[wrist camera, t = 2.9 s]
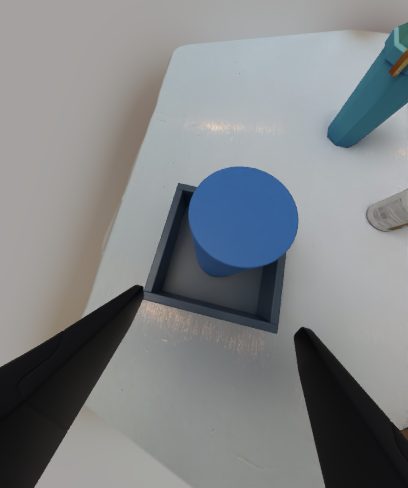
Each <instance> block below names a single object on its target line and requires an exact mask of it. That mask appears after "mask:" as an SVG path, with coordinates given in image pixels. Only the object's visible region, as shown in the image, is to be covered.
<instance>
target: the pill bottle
mask: <svg viewBox="0 0 408 488" xmlns="http://www.w3.org/2000/svg"><path fill="white" fill-rule="evenodd" d="M367 217H368V220H369V222H370V223H371V224H372V225H373V226H374V227H376V228H377V229H379V230H382V231H392V230H395V229H399V228H403V227H407V226H408V189H406V190H404V191H402V192H400V193H398V194H395V195H393V196H391V197H389V198H386V199H384V200H382V201H380V202H378V203H376V204H373V205H372V206H371V207H370V208H369V209H368V212H367Z"/></svg>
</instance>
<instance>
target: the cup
mask: <svg viewBox="0 0 408 488" xmlns="http://www.w3.org/2000/svg"><path fill="white" fill-rule="evenodd" d="M407 103H408V23H406V24H403V25H401V26H398V27H396V28H394V30H393V31H392V33H391V34H390V36H389V37H388V39H387V40H386V42H385V47H384V49H383V50H382V51H381V53H380V54H379V56H378V57H377V59H376V60H375V61H374V63H373V64H372V66H371V67H370V69H369V70H368V71H367V73H366V74H365V76H364V77H363V79H362V80H361V82H360V83H359V84H358V86H357V87H356V89H355V90H354V92H353V93H352V94H351V96H350V97H349V99H348V100H347V102H346V103H345V104H344V106H343V107H342V109H341V110H340V112H339V113H338V115H337V116H336V117H335V119H334V120H333V122H332V123H331V125H330V126H329V127H328V135H327V137H328V138H329V139H330V140H331V141H332V142H333V143H334V144H335V145H337V146H342V147H346V148H348V147H350V146H352V145H354V144H356V143H357V142H359V141H360V140H361V139H362V138H364V137H365V136H366V135H368V134H369V133H370V132H371V131H373V130H374V129H375V128H376V127H378V126H379V125H380V124H381V123H383V122H384V121H385V120H386V119H388V118H389V117H390V116H391V115H393V114H394V113H395V112H396V111H398V110H399V109H400V108H401V107H403V106H404V105H405V104H407Z"/></svg>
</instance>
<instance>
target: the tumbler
mask: <svg viewBox="0 0 408 488" xmlns="http://www.w3.org/2000/svg"><path fill="white" fill-rule="evenodd" d="M188 216H189V225H190V229H191V233H192V238H193V242H194V246H195V251H196V255H197V259H198V263H199V265H200V267H201V269H202V270H203V271H204V272H205V273H207V274H208V275H210V276H213V277H225V276H228V275H232V274H236V273H240V272H243V271H247V270H251V269H255V268H258V267H262V266H265V265H268V264H270V263H272V262H274V261H276V260H277V259H279V258H280V257H281V256H282V255H283V254H285V253H286V251H287V250H288V249H289V248H290V246H291V245H292V243H293V241H294V239H295V236H296V233H297V229H298V212H297V207H296V205H295V202H294V200H293V198H292V196H291V194H290V193H289V191H288V190H287V189H286V187H285V186H284V185H283V184H282V183H281V182H280V181H279V180H277V179H276V178H275V177H273V176H271V175H270V174H268V173H266V172H264V171H261V170H258V169H255V168H250V167H230V168H225V169H222V170H219V171H217V172H215V173H213V174H211V175H210V176H208V177H207V178H206V179H204V180H203V181H202V182H201V183H200V185H199V186H198V187H197V188H196V190H195V192H194V193H193V196H192V198H191V201H190V205H189V211H188Z"/></svg>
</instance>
